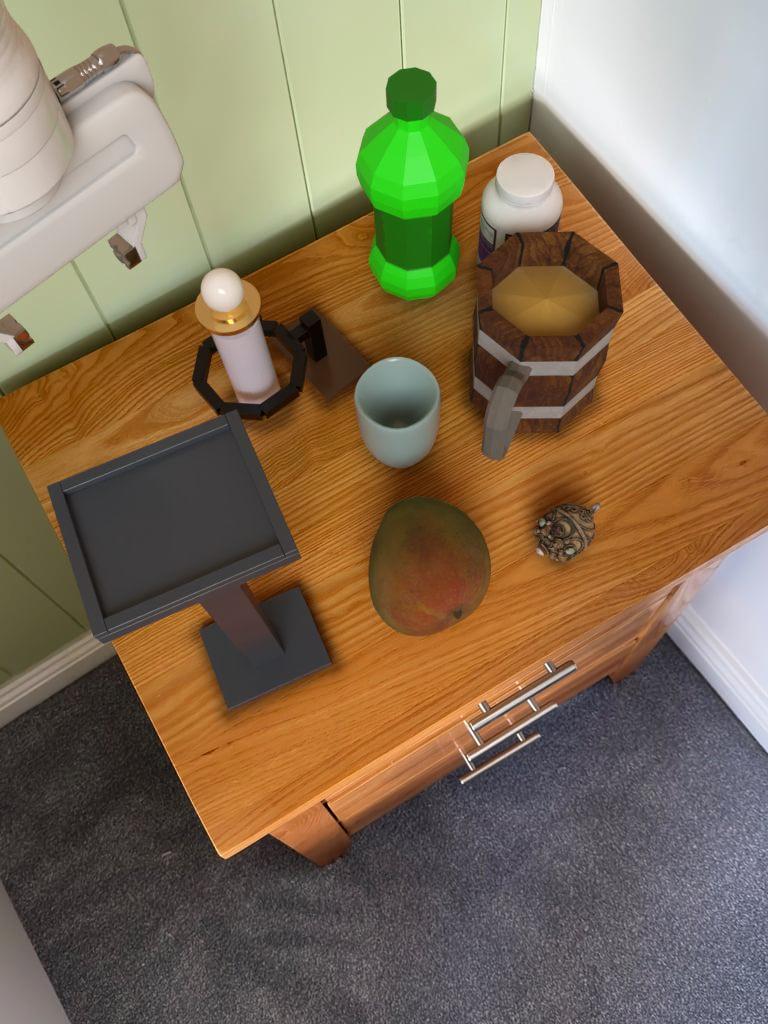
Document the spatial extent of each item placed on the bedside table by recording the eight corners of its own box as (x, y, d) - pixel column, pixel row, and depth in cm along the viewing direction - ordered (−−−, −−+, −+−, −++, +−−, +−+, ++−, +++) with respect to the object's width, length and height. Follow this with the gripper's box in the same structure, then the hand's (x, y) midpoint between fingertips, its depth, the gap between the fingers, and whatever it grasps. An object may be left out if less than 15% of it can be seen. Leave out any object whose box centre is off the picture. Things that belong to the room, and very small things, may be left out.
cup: (346, 446, 85) (336, 396, 75) (398, 397, 87) (394, 341, 77) (402, 493, 82) (399, 446, 73) (454, 441, 84) (458, 389, 75)
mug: (491, 310, 90) (503, 210, 76) (612, 349, 88) (646, 252, 74) (421, 460, 84) (420, 380, 70) (550, 507, 81) (575, 434, 67)
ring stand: (249, 465, 84) (234, 430, 77) (190, 395, 88) (170, 356, 81) (375, 374, 88) (370, 332, 81) (313, 310, 91) (303, 266, 84)
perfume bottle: (289, 422, 86) (252, 301, 68) (233, 426, 86) (181, 307, 68) (288, 374, 88) (252, 245, 70) (234, 378, 88) (184, 251, 70)
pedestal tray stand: (223, 726, 74) (93, 637, 45) (187, 627, 78) (46, 485, 49) (347, 670, 76) (297, 549, 47) (306, 575, 79) (236, 408, 50)
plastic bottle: (433, 229, 95) (436, 26, 72) (477, 297, 91) (494, 104, 68) (354, 262, 94) (330, 66, 71) (394, 332, 90) (384, 148, 67)
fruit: (402, 666, 75) (398, 638, 66) (338, 553, 80) (327, 513, 71) (511, 605, 77) (523, 570, 68) (443, 498, 82) (445, 452, 73)
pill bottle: (561, 263, 92) (584, 161, 79) (526, 314, 90) (544, 219, 77) (497, 234, 94) (509, 130, 81) (462, 283, 92) (468, 185, 79)
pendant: (517, 543, 80) (522, 523, 75) (575, 496, 81) (584, 473, 77) (553, 581, 78) (561, 563, 73) (612, 532, 80) (623, 512, 75)
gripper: (99, 1, 46) (166, 188, 59) (-227, 211, 41) (-76, 367, 54) (171, 54, 45) (225, 235, 57) (-161, 281, 39) (-20, 425, 52)
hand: (77, 300), depth 55 cm, fingers open, 8 cm apart
